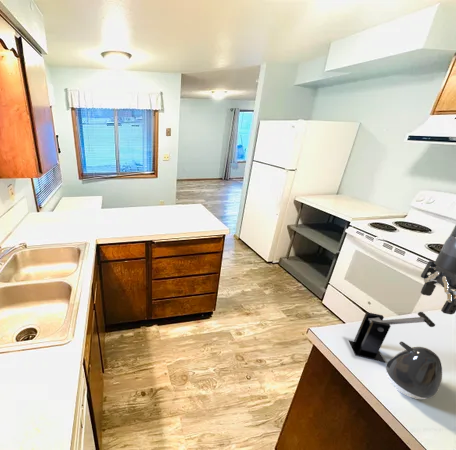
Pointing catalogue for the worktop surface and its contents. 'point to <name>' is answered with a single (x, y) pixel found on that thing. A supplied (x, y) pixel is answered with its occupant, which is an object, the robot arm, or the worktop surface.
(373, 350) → the bracket
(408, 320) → the lever
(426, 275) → the robot arm
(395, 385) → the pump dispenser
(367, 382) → the worktop surface
